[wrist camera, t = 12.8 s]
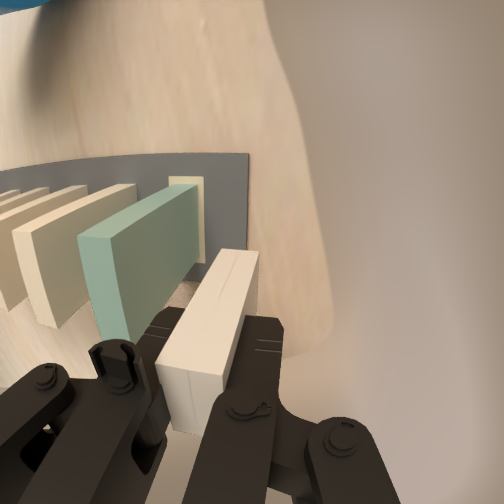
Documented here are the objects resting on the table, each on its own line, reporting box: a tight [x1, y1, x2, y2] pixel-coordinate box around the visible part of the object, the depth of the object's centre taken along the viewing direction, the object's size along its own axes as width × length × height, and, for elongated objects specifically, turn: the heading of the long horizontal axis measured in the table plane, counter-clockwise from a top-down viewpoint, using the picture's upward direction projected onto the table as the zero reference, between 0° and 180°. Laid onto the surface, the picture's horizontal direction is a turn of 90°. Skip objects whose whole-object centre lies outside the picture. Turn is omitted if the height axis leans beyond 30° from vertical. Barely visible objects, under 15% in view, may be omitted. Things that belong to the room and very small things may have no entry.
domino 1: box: [0, 187, 50, 215], centre depth 17 cm, size 2×5×10 cm, turn 178°
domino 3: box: [12, 184, 137, 329], centre depth 16 cm, size 2×5×10 cm, turn 178°
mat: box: [0, 153, 249, 282], centre depth 21 cm, size 26×9×1 cm, turn 88°
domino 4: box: [77, 184, 200, 345], centre depth 15 cm, size 2×5×10 cm, turn 178°
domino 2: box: [0, 185, 88, 312], centre depth 16 cm, size 2×5×10 cm, turn 179°
